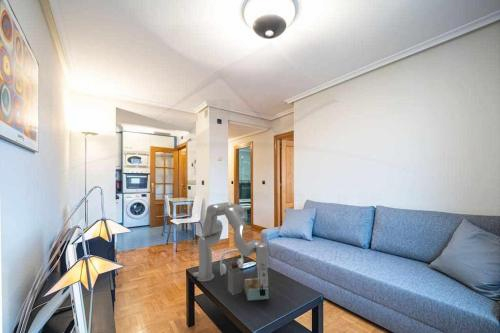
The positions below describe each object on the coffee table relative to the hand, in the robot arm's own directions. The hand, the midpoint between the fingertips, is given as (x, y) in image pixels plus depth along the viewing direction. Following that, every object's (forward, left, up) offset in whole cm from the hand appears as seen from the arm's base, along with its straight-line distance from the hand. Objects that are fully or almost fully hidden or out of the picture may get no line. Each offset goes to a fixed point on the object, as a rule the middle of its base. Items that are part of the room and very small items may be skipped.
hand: (262, 295), depth 131 cm
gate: (-2, +2, -4) cm, 5 cm away
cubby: (-2, +9, -4) cm, 11 cm away
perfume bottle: (-15, +14, -4) cm, 22 cm away
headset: (-16, +42, -5) cm, 45 cm away
